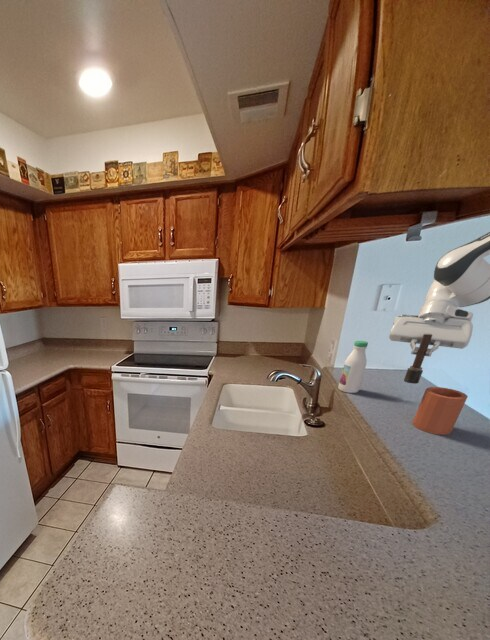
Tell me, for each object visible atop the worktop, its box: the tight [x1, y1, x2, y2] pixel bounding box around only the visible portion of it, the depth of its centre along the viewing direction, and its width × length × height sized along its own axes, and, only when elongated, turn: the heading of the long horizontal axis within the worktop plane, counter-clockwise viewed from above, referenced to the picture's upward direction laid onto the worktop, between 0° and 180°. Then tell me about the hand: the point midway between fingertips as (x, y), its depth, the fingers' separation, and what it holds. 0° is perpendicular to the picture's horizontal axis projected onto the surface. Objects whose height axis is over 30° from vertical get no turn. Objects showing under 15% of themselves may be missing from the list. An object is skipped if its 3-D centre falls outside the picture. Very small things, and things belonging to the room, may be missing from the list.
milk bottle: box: [337, 340, 369, 394], centre depth 132 cm, size 8×8×20 cm
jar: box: [412, 386, 468, 436], centre depth 104 cm, size 10×10×12 cm
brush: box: [403, 334, 432, 385], centre depth 102 cm, size 4×4×15 cm
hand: (420, 354), depth 101 cm, fingers closed on brush, 2 cm apart
